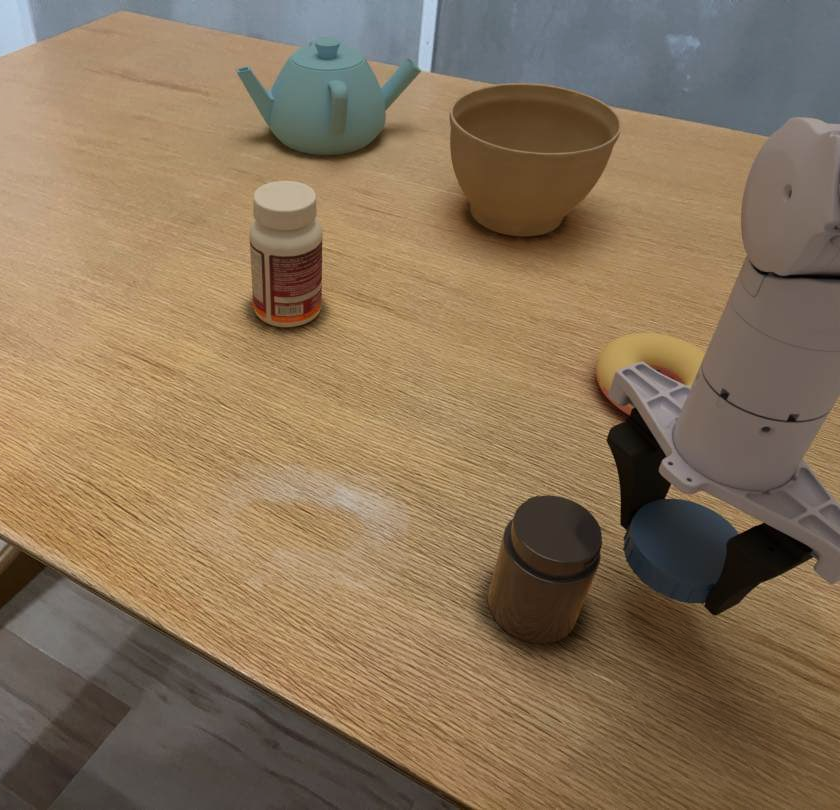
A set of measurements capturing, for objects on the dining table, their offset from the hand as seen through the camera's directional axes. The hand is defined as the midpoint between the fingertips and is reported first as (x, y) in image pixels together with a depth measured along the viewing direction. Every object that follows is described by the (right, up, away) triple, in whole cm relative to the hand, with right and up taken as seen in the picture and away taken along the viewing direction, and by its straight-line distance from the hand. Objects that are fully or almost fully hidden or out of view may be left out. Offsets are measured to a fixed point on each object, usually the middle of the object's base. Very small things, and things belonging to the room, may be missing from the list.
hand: (676, 560), depth 47 cm
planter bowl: (+1, +29, +39) cm, 49 cm away
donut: (+7, +10, +18) cm, 22 cm away
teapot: (-18, +42, +54) cm, 71 cm away
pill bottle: (-23, +17, +27) cm, 39 cm away
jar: (-7, -3, +4) cm, 9 cm away
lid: (0, +1, -1) cm, 2 cm away
